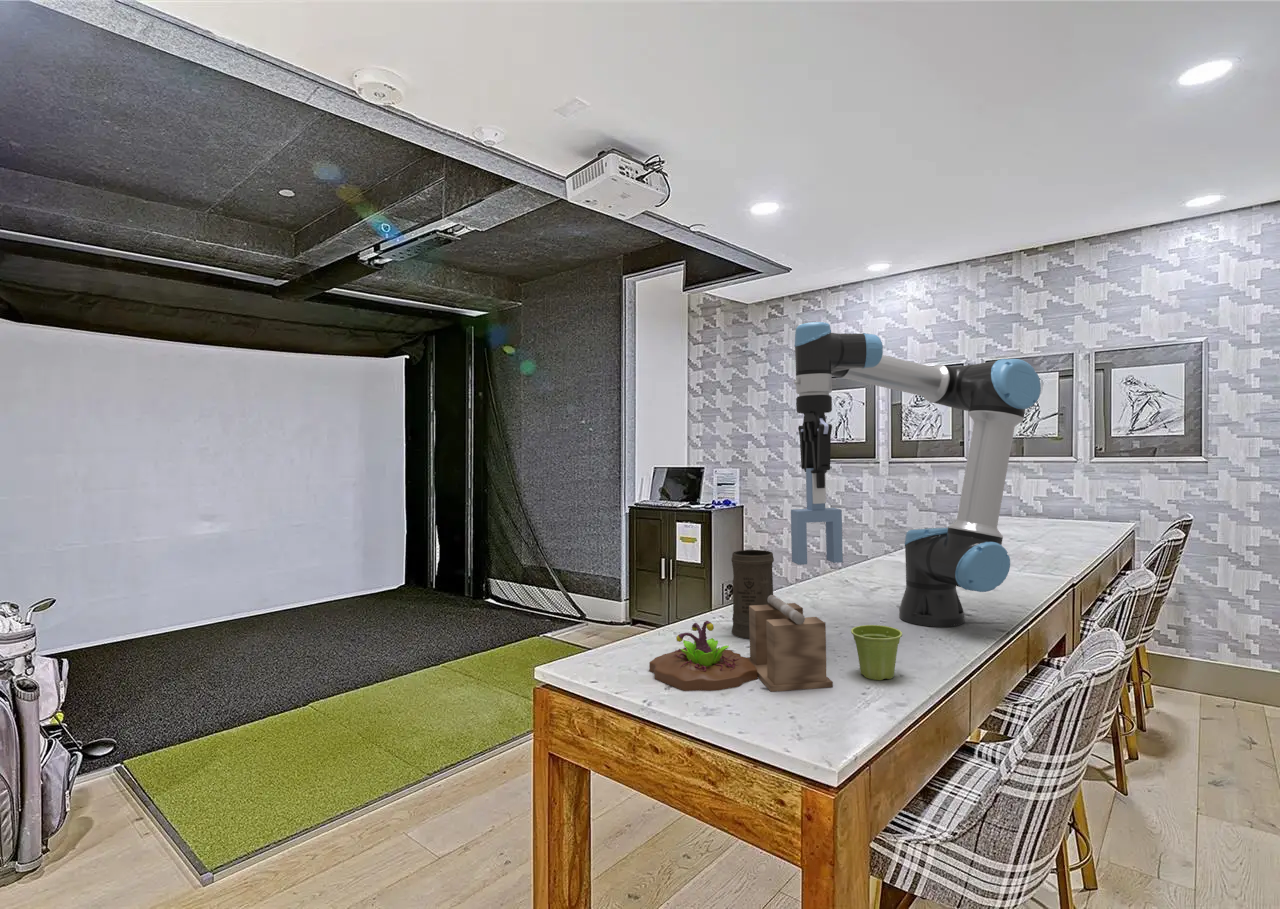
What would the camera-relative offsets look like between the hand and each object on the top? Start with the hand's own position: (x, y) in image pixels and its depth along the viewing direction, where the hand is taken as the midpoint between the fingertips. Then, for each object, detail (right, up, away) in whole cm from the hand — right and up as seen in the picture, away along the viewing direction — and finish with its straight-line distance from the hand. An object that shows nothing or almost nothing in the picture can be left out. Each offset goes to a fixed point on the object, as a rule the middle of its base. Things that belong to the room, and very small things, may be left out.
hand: (815, 502), depth 149 cm
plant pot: (+8, -33, -16) cm, 37 cm away
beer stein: (-10, -33, +17) cm, 38 cm away
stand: (-9, -33, -14) cm, 37 cm away
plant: (-26, -34, -12) cm, 44 cm away
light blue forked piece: (0, -13, 0) cm, 13 cm away
